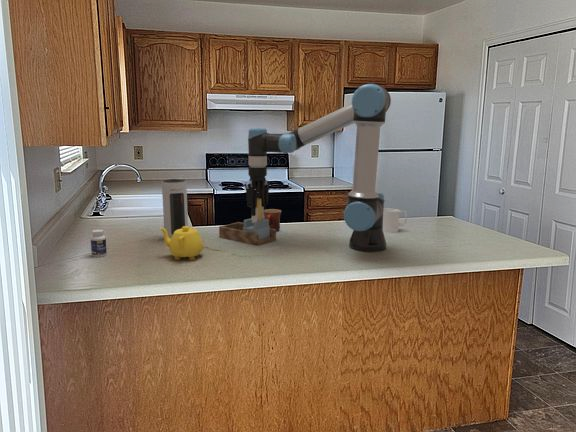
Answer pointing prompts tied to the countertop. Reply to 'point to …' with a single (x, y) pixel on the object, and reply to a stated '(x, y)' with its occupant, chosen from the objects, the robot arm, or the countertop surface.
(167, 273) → the countertop surface
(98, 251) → the pill bottle
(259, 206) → the peg
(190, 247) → the teapot
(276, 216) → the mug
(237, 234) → the bay
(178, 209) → the speaker
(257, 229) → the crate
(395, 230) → the cup
